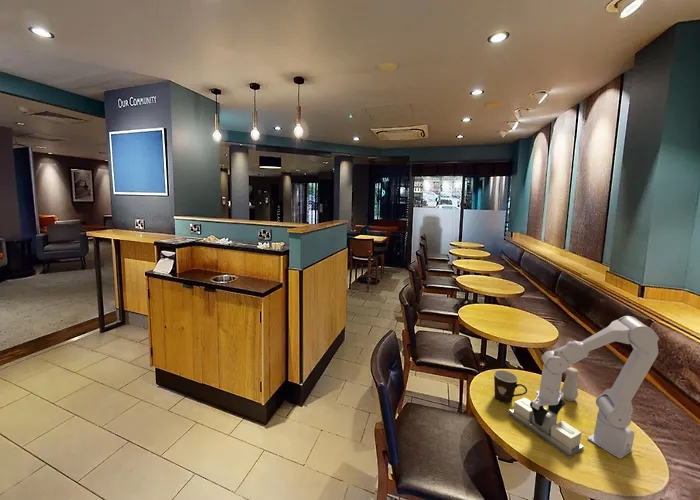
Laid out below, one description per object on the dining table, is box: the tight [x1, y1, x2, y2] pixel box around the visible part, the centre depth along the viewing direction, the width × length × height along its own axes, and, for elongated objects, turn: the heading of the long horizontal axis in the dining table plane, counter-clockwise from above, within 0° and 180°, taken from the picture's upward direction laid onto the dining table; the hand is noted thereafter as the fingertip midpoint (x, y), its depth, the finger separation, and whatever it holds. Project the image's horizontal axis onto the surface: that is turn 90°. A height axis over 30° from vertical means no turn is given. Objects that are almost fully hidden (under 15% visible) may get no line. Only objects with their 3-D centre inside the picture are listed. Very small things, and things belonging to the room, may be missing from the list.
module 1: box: [512, 397, 533, 422], centre depth 118 cm, size 6×6×5 cm
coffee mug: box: [493, 369, 528, 404], centre depth 127 cm, size 12×9×10 cm
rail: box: [507, 408, 585, 459], centre depth 112 cm, size 22×8×2 cm, turn 27°
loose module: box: [532, 406, 559, 434], centre depth 112 cm, size 6×4×6 cm, turn 27°
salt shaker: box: [560, 366, 580, 402], centre depth 129 cm, size 6×6×13 cm
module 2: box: [551, 420, 583, 450], centre depth 105 cm, size 6×6×5 cm
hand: (545, 420), depth 111 cm, fingers open, 7 cm apart
